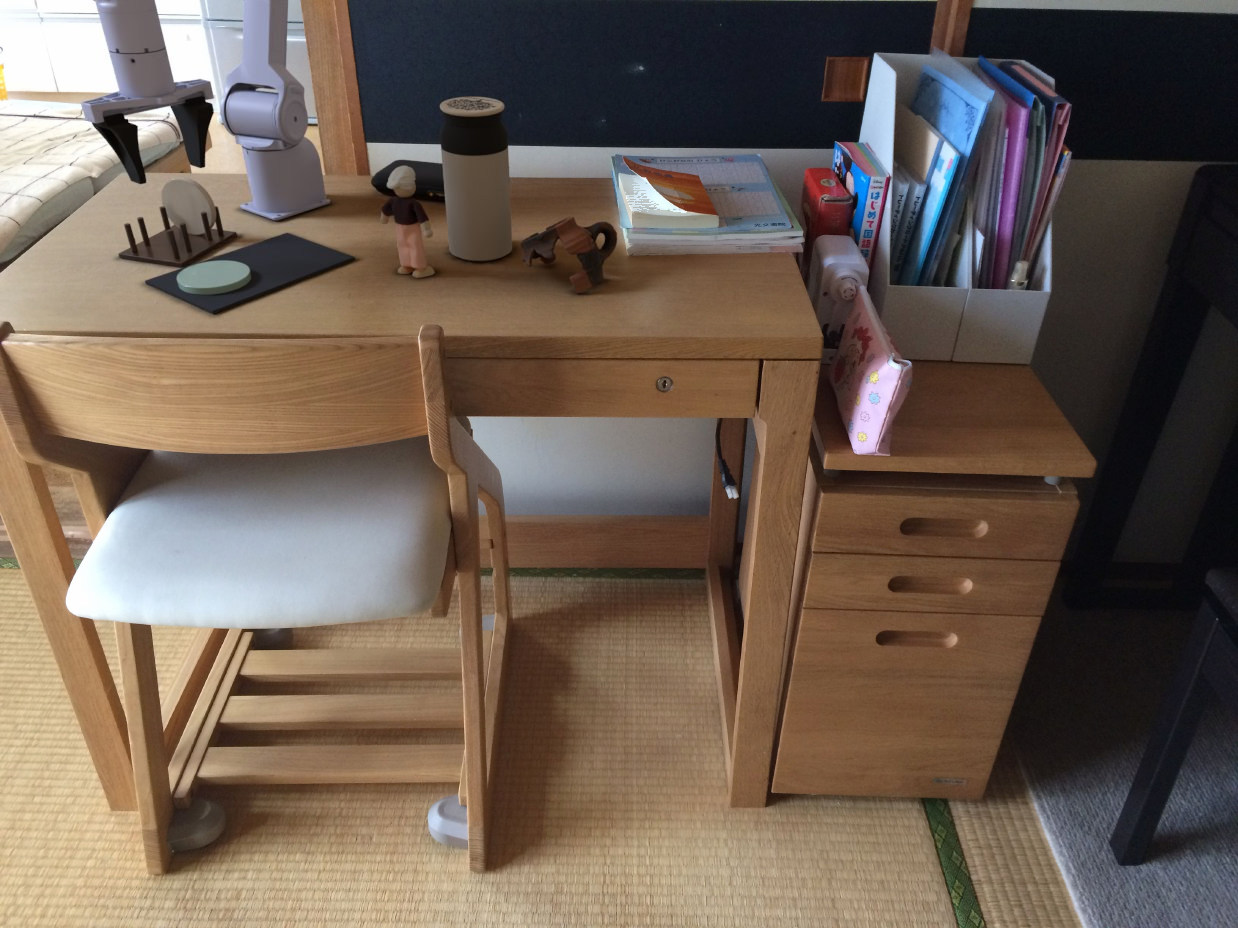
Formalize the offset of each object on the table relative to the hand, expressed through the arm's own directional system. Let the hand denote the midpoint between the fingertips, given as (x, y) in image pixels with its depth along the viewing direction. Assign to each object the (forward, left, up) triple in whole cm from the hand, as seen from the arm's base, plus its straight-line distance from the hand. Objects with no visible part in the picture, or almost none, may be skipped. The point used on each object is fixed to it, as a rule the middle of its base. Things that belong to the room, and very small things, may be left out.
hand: (169, 174), depth 108 cm
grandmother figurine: (-14, +24, -11) cm, 30 cm away
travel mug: (-24, +26, -11) cm, 37 cm away
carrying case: (-36, +4, -11) cm, 38 cm away
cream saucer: (-4, -5, -6) cm, 9 cm away
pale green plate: (+3, +9, -10) cm, 14 cm away
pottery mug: (-25, +40, -11) cm, 48 cm away
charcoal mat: (-2, +10, -10) cm, 14 cm away
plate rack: (-1, -4, -10) cm, 11 cm away
